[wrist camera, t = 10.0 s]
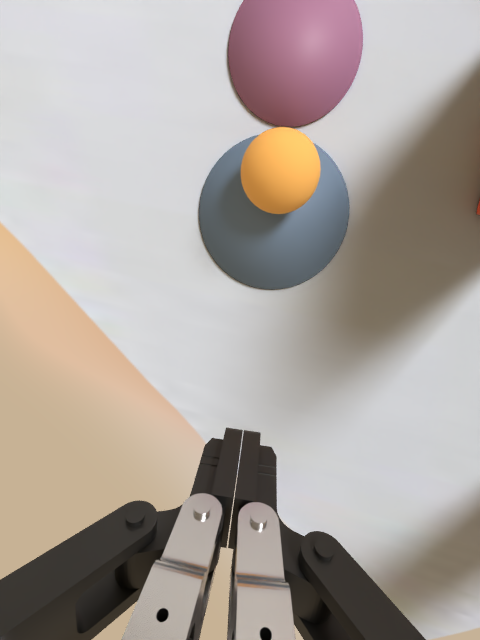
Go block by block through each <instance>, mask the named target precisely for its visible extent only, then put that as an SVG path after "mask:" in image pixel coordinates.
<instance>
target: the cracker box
mask: <svg viewBox="0 0 480 640" xmlns="http://www.w3.org/2000/svg"><path fill="white" fill-rule="evenodd" d="M476 214H478V215H480V200H479V204H478V207H477V212H476Z"/></svg>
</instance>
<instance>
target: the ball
mask: <svg viewBox="0 0 480 640" xmlns="http://www.w3.org/2000/svg"><path fill="white" fill-rule="evenodd" d="M320 170H321V167H320V159H319V155H318V152H317V150H316V147H315V146H314V144H313V143H312V141H311V140H310V139H309V138H308V137H307V136H306V135H305V134H303V133H302V132H300V131H298V130H296V129H293V128H288V127H277V128H272V129H269V130H267V131H265V132H263V133H261V134H260V135H258V136H257V137H256V138H255V139H254V140H253V141H252V142H251V144H250V145H249V146H248V148H247V150H246V152H245V154H244V156H243V159H242V164H241V182H242V186H243V189H244V191H245V193H246V195H247V197H248V198H249V199H250V201H251V202H252V203H253V204H254V205H255V206H257V207H258V208H259V209H261V210H263V211H265V212H268V213H272V214H285V213H289V212H292V211H294V210H296V209H298V208H300V207H301V206H303V205H304V204H305V203H306V202H307V201H308V200H309V199H310V198H311V196H312V195H313V193H314V192H315V190H316V187H317V185H318V182H319V178H320Z"/></svg>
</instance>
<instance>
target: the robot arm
mask: <svg viewBox="0 0 480 640" xmlns="http://www.w3.org/2000/svg"><path fill="white" fill-rule="evenodd" d="M242 431H243V430H239V429H232V428H226V430H225V435H224V439H223V440H222V439H215V438H212V439H211V440H210V441H209V442H208V443H207V444H206V445H205V447H204V451H203V454H202V457H201V461H200V465H199V468H198V471H197V474H196V478H195V481H194V485H193V488H192V491H191V494H190V497H189V498H188V499H187V500H186V501H185V502H184V503H183V505H181V506H180V507H178V508H176V509H172V510H167V511H159V512H157V511H156V509H155V508H154V506H153V505H151V504H150V503H148V502H145V501H133V502H130V503H127V504H125V505H124V506H122V507H120V508H119V509H117V510H115V511H114V512H112V513H111V514H109V515H107V516H105V517H104V518H102V519H100V520H99V521H97V522H95V523H94V524H92V525H90V526H89V527H87V528H85V529H84V530H82V531H80V532H79V533H77V534H75V535H74V536H72V537H71V538H69V539H67V540H66V541H64V542H62V543H61V544H59V545H57V546H56V547H54V548H52V549H51V550H49V551H47V552H46V553H44V554H43V555H41V556H39V557H37V558H36V559H34V560H32V561H31V562H29V563H27V564H26V565H24V566H22V567H21V568H19V569H17V570H16V571H14V572H13V573H11V574H9V575H8V576H6V577H4V578H3V579H1V580H0V640H91V639H93V638H94V637H95V636H96V635H97V634H99V633H100V632H101V631H102V630H103V629H104V628H106V627H107V626H108V625H109V624H110V623H112V622H113V621H114V620H115V619H116V618H117V617H119V616H120V615H121V614H122V613H123V612H125V611H126V610H127V609H128V608H129V607H130V606H132V605H133V604H134V603H135V602H136V601H137V604H136V606H135V609H134V611H133V613H132V616H131V618H130V621H129V623H128V625H127V628H126V630H125V633H124V635H123V637H122V640H199V638H200V633H201V628H202V624H203V620H204V616H205V612H206V608H207V603H208V599H209V595H210V591H211V586H212V583H213V578H214V574H215V569H216V565H217V563H218V560H219V553H220V548H221V547H225V548H226V546H227V539H228V532H229V525H230V518H231V511H232V504H233V497H234V490H235V483H236V477H237V469H238V462H239V454H240V447H241V439H242ZM228 548H231V549H234V550H233V558H232V566H231V574H230V593H229V614H228V632H227V640H295V630H294V625H295V626H296V628H297V629H298V631H299V633H300V634H301V636H302V637H303V639H304V640H426V639H425V638H424V637H423V636H422V635H421V634H420V633H419V632H418V630H417V629H416V628H415V627H414V626H413V625H412V624H411V623H410V621H409V620H408V619H407V618H406V617H405V616H404V615H403V614H402V613H401V611H400V610H399V609H398V608H397V607H396V606H395V605H394V604H393V602H392V601H391V600H390V599H389V598H388V597H387V596H386V595H385V594H384V592H383V591H382V590H381V589H380V588H379V587H378V586H377V585H376V583H375V582H374V581H373V580H372V579H371V578H370V577H369V576H368V575H367V573H366V572H365V571H364V570H363V569H362V568H361V567H360V566H359V564H358V563H357V562H356V561H355V560H354V559H353V558H352V557H351V555H350V554H349V553H348V552H347V551H346V550H345V549H344V548H343V547H342V545H341V544H340V543H339V542H338V541H337V540H336V539H335V538H333V537H332V536H331V535H329V534H327V533H324V532H319V531H314V532H310V533H308V534H307V535H305V537H304V536H302V535H300V534H298V533H296V532H294V531H292V530H291V529H289V528H288V527H287V526H286V525H285V524H284V523H283V522H282V521H281V519H280V518H279V516H278V513H277V496H276V455H275V453H274V451H273V449H272V447H268V446H261V445H260V433H259V432H252V431H246V430H244V434H243V441H242V449H241V456H240V463H239V470H238V477H237V484H236V492H235V500H234V507H233V514H232V522H231V530H230V538H229V546H228Z"/></svg>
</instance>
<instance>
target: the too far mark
mask: <svg viewBox="0 0 480 640" xmlns="http://www.w3.org/2000/svg"><path fill="white" fill-rule="evenodd" d="M362 47H363V32H362V23H361V18H360V14H359V11H358V8H357V5H356V3H355V1H354V0H244V1H243V2H242V4H241V6H240V8H239V10H238V12H237V14H236V16H235V19H234V22H233V25H232V29H231V33H230V38H229V49H228V58H229V67H230V72H231V77H232V80H233V83H234V86H235V88H236V90H237V92H238V94H239V96H240V98H241V99H242V101H243V102H244V104H245V105H246V106H247V107H248V108H249V109H250V110H251V111H252V112H253V113H254V114H255V115H256V116H258V117H259V118H261V119H263V120H265V121H266V122H268V123H271V124H274V125H279V126H286V127H294V126H301V125H305V124H308V123H311V122H313V121H316V120H318V119H319V118H321V117H323V116H324V115H326V114H327V113H328V112H329V111H331V110H332V109H333V108H334V107H335V106H336V105H337V104H338V103H339V102H340V101H341V99H342V98H343V97H344V96H345V94H346V92H347V91H348V89H349V88H350V86H351V84H352V82H353V80H354V78H355V76H356V73H357V70H358V67H359V63H360V59H361V54H362Z"/></svg>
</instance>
